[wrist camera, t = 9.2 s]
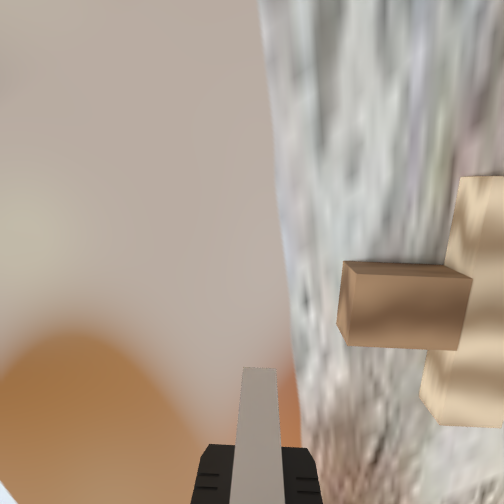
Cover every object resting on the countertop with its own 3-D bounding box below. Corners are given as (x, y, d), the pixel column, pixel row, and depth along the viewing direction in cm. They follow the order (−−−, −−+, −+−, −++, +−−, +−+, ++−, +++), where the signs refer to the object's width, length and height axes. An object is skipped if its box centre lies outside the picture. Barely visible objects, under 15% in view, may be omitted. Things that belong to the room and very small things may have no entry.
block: (342, 260, 30) (356, 273, 26) (442, 264, 30) (473, 278, 25) (335, 322, 32) (347, 345, 27) (429, 327, 31) (456, 350, 27)
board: (460, 176, 27) (493, 176, 23) (526, 178, 27) (570, 178, 23) (418, 396, 33) (439, 425, 29) (472, 399, 33) (501, 428, 29)
